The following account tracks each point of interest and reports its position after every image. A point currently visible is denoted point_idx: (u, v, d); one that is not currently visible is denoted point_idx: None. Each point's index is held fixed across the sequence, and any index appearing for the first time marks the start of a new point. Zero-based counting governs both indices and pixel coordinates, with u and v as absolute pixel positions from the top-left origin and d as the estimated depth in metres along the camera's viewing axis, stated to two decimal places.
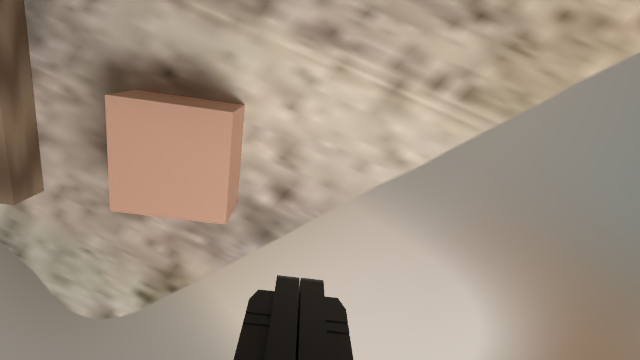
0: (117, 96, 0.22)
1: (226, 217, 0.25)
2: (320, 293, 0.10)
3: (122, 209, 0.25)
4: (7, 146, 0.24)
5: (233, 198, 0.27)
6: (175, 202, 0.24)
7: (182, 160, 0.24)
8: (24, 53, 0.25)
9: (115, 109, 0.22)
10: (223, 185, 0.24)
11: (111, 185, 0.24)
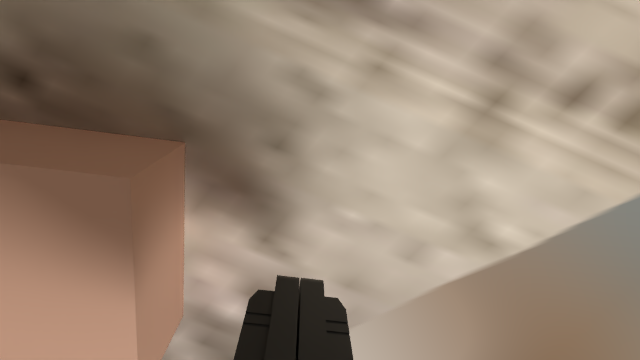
0: None
1: None
2: (320, 293, 0.10)
3: None
4: None
5: (166, 327, 0.14)
6: None
7: (24, 284, 0.10)
8: None
9: None
10: (125, 331, 0.11)
11: None
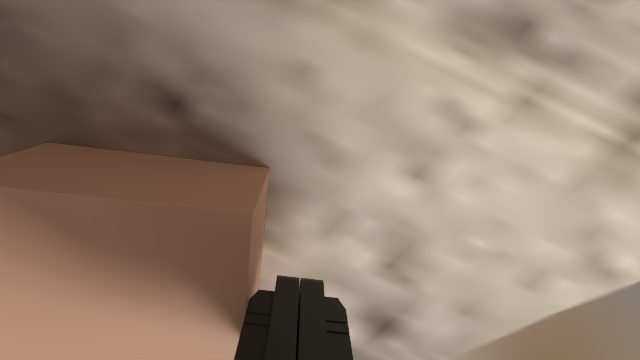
0: None
1: None
2: (320, 293, 0.10)
3: None
4: None
5: None
6: None
7: (135, 317, 0.10)
8: None
9: None
10: None
11: None
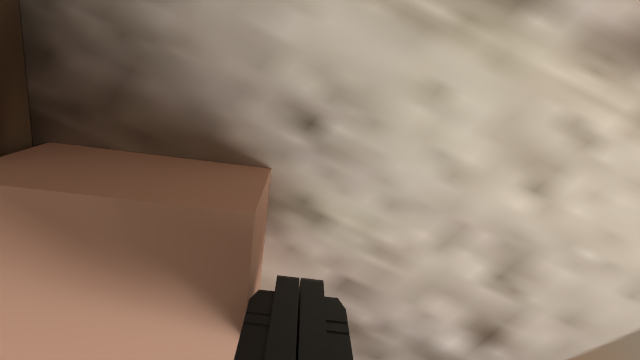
0: None
1: None
2: (320, 293, 0.10)
3: None
4: None
5: None
6: None
7: (136, 317, 0.10)
8: (17, 84, 0.12)
9: None
10: None
11: None
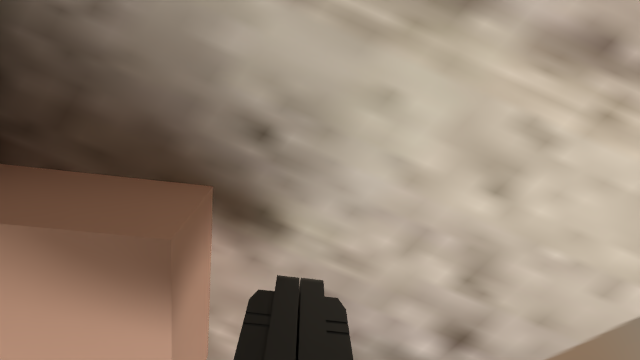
0: None
1: None
2: (320, 293, 0.10)
3: None
4: None
5: None
6: None
7: (61, 342, 0.10)
8: None
9: None
10: None
11: None
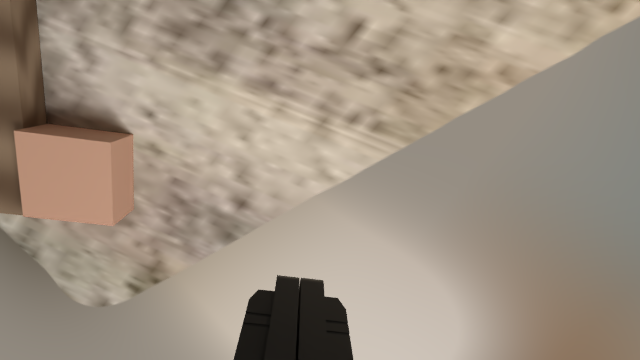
0: (23, 131, 0.30)
1: (113, 220, 0.33)
2: (320, 293, 0.10)
3: (32, 215, 0.33)
4: None
5: (124, 206, 0.35)
6: (72, 209, 0.33)
7: (75, 177, 0.32)
8: (42, 103, 0.33)
9: (22, 141, 0.31)
10: (108, 196, 0.32)
11: (23, 197, 0.32)
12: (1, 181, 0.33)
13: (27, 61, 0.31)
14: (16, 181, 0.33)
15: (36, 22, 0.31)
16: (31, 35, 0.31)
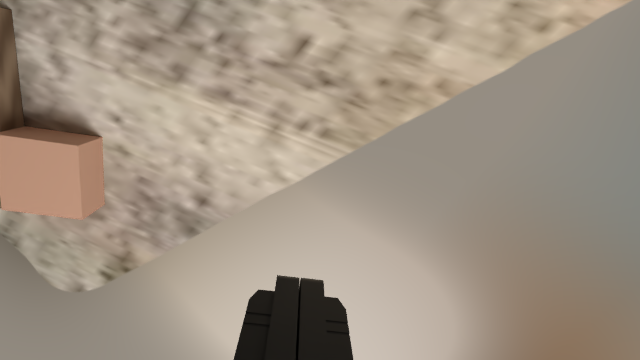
0: (0, 135, 0.34)
1: (82, 215, 0.37)
2: (320, 293, 0.10)
3: (10, 208, 0.36)
4: None
5: (94, 202, 0.39)
6: (45, 204, 0.36)
7: (47, 176, 0.35)
8: (19, 108, 0.37)
9: None
10: (77, 193, 0.36)
11: (1, 192, 0.36)
12: None
13: (4, 71, 0.34)
14: None
15: (12, 35, 0.35)
16: (8, 47, 0.35)
